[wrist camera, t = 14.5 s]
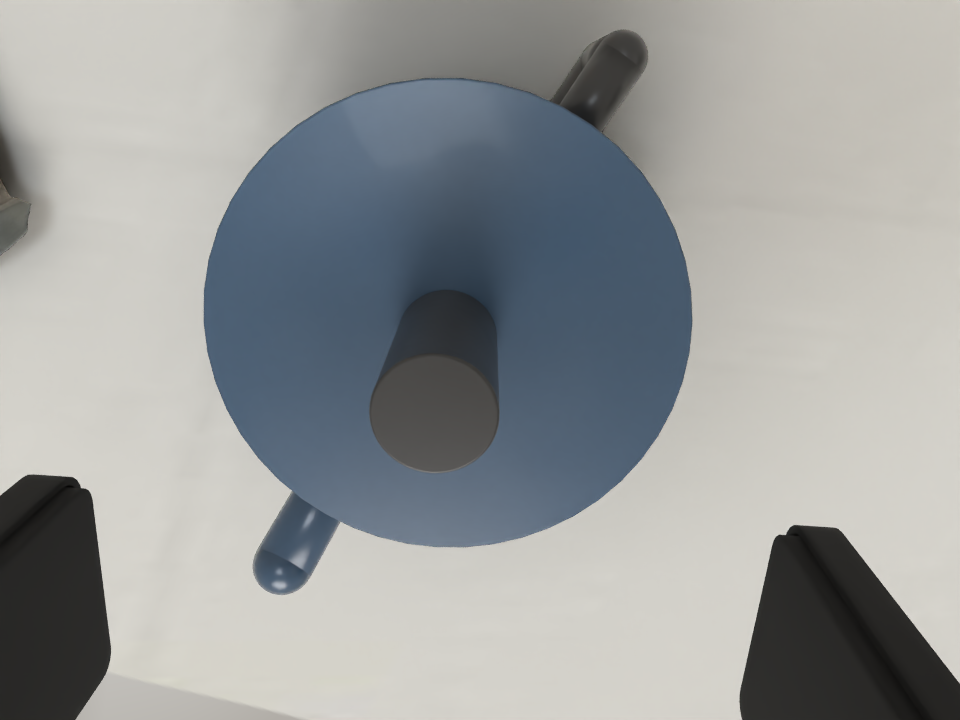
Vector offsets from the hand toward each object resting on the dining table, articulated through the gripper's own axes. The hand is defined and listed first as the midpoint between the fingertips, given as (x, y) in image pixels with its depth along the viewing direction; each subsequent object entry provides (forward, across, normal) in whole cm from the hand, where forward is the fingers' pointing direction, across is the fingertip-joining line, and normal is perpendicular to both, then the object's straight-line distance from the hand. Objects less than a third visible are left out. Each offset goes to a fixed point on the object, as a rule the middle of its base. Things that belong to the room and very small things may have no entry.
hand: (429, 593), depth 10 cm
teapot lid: (+14, +1, +1) cm, 14 cm away
